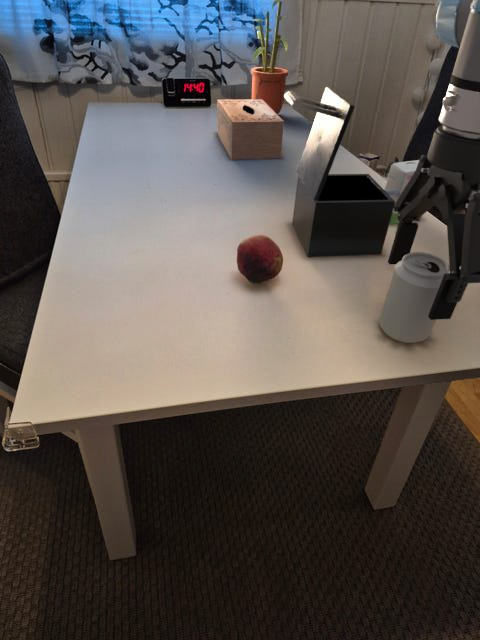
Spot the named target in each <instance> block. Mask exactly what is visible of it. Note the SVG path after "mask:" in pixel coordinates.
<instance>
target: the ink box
mask: <svg viewBox="0 0 480 640" xmlns="http://www.w3.org/2000/svg"><path fill="white" fill-rule="evenodd" d="M419 160H420V159H417V160H416V159H415V160H407V161H399V162H398V161H397V162H393V163H391V165H390V168H389V171H388V175H387V179H386V183H385V187H384V190H385V191H386V192H387V193H388V195H389V196H390V197H391V198H392V199H393V200H394V201H395V203H396V201H397V200H398V198H399V197H400V195H401V193H402V192H403V190H404V188H405V187H406V185H407V184H408V182H409V180H410V179H411V177H412V176H413V174H414V172H415V171H416V168H417V166H418V163H419ZM406 203H408V202H406ZM398 214H399V213H398V212H395V211H394V208H393V212H392V216H391V220H390V223H389V225H395V224H399V221H398ZM422 216H423V215H422ZM422 216H421V217H420V219H422Z"/></svg>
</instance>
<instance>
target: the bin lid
mask: <svg viewBox="0 0 480 640" xmlns="http://www.w3.org/2000/svg"><path fill="white" fill-rule="evenodd" d="M284 101H286V102H287V103H288V105H289V106H290V107H291V108H292V109H293V110H294V111H300V110H301V109H304V110H308V111H311V112H314V113H316V115H315V118H314V121H313V124H312V126H311V129H310V132H309V135H308V138H307V140H306V144H305V146H304V149H303V152H302V155H301V157H300V161H299V163H298V166H297V169H296V173H297V176H298V175H299V176H300V178H301V179H302V181H303V183H304V184H305V186H306V187H307V189H308V191H309V192H310V194H311V196H312V197H313V199H314V200H317V201H318V200H319V197H320V194H321V192H322V189H323V187H324V184H325V182H326V179H327V177H328V174H330V171H331V169H332V167H333V164H334V161H335V159H336V155H338V154H337V153H338V151H339V148H340V146H341V144H342V140H343V138H344V135H345V132H346V130H347V128H348V125H349V123H350V120H351V118H352V115H353V112H354V110H355V107H356V105H354V104H353V103H351V102H350V101H348V100H347V99H346V98H344V96H342V95H341V94H339V93H338V92H337V91H335V90H334V89H333V88H332V87H330V86H325V88H324V91H323V94H322V97H321V100H320V101H316V100H313V99H310V98H306V97H303V96H299V95H298V94H297V93H296V92H295V91H293V90H292V89H289V90H287V91H285V94H284Z"/></svg>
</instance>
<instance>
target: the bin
mask: <svg viewBox="0 0 480 640" xmlns="http://www.w3.org/2000/svg"><path fill="white" fill-rule="evenodd" d="M294 197H295V198H294V205H293V215H292V222H291V223H292V224H291V225H292V227H293V230H294V232H295V233H296V235H297V238H298V240H299V242H300V244H301V246H302V248H303V250H304V252H305V255H306V256H307V258H312V257H313V258H316V257H345V256H346V257H347V256H351V257H352V256H379V255H382V253H383V251H384V250H383V249H384V246H385V242H386V237H387V234H388V231H389V227H390V220H391V216H392V212H393V208H394V205H395V201H394V200H393V199H392V198H391V197H390V196H389V195H388V193H387V192H386V191H385V188H384V187H382V186H381V185H380V184H379V183H378V182H377V181H376V180H375V178H373V177H372V176H371V174H370V173H329V174H328V177H327V179H326V182H325V184H324V187H323V189H322V192H321V194H320V197H319V200H318V201H317V200H314V199H313V197H312V196H311V194H310V192H309V191H308V189H307V187H306V186H305V184H304V183H303V181H302V179H301V178H300V176H299V175H298V174H297V179H296V189H295V196H294Z"/></svg>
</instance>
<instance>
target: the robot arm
mask: <svg viewBox="0 0 480 640" xmlns="http://www.w3.org/2000/svg"><path fill="white" fill-rule="evenodd" d="M435 29H436V34H437V37H438V38H439V40H440V41H441V42H442V43H443V44H445V45H448V46H452V47H454V48H457V49H458V52H457V56H456V60H455V63H454V67H453V70H452V73H451V76H450V80H449V85H448V88H447V91H446V94H445V96H444V97H443V99H442V107H441V110H440V114H439V116H438V122H439V123H440V125H438V126H437V128H435V129H434V132H433V136H432V138H431V142H430V145H429V149H428V150H427V151H428V152H427V154H422V155H421V156H420V158H419V159H418V160H419V163H418V166H417V168H416V171H415V172H414V174H413V176H412V177H411V179H410V180H409V182H408V184H407V185H406V187H405V188H404V190H403V192H402V193H401V195H400V197H399V198H398V200H397V201H396V203H395V205H394V211H395V212H398V213H399V214H398V221H399V223H397V224H398V225H397V228H396V231H395V236H394V239H393V242H392V245H391V249H390V252H389V256H388V260H387V263H388V265H392V266H393V265H394V266H395V265H396V264H397V263H398V262H400V261H402V258H403V257H404V256H405V255H406V254H409V253H411V251H412V247H413V244H414V241H415V239H416V235H417V232H418V229H419V226H420V225H419V223H417V222H420V221H421V218H422V217H421V216H423V215H425V214H426V213H427V212H428V211H429V210H431V208H433V207H436V208H437V209H438V211H439V212H440V213H441V215H442V221H443V222H444V223H445V225H446V230H447V246H448V247H447V248H448V265H449V266H450V271H449V273H445V274H444V276H443V279H442V281H441V284H440V287H439V289H438V292H437V294H436V297H435V299H434V302H433V305H432V307H431V310H430V312H429V315H428V317H429V318H430V320H435V321H437V320H451V319H452V316H453V314H454V311H455V309H456V307H457V304H458V303H459V302H460V301H462V299H463V296H464V293H465V292H466V290H467V287H468V285H469V284H480V0H441V1H440V2H439V4H438V7H437V10H436V16H435ZM406 202H408V203H406ZM463 211H464V213H461V212H463ZM420 217H421V218H420Z"/></svg>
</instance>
